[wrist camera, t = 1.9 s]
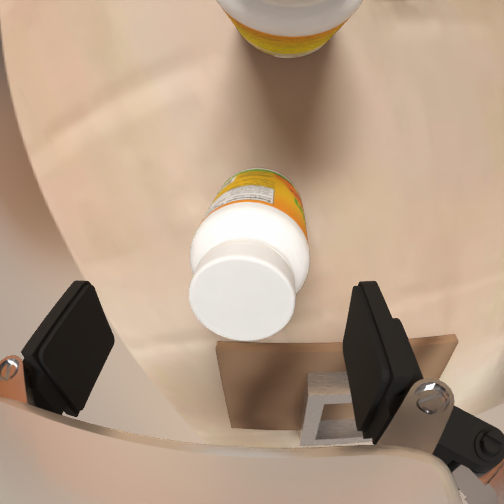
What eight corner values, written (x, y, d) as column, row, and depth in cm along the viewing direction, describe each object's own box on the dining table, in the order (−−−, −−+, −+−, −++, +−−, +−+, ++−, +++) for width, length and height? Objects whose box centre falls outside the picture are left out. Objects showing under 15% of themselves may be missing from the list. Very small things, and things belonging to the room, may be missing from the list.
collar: (415, 366, 25) (422, 386, 22) (387, 421, 30) (390, 438, 27) (307, 372, 26) (308, 395, 23) (299, 426, 31) (299, 445, 29)
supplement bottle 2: (303, 242, 21) (313, 352, 12) (223, 246, 21) (187, 352, 13) (300, 163, 18) (316, 234, 10) (212, 169, 19) (154, 242, 10)
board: (454, 334, 24) (458, 341, 23) (411, 414, 31) (413, 420, 30) (217, 341, 26) (215, 349, 25) (232, 420, 33) (231, 427, 32)
